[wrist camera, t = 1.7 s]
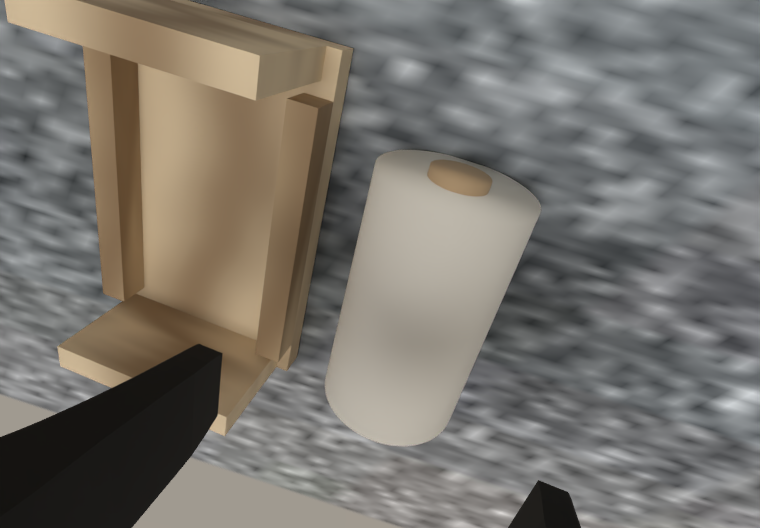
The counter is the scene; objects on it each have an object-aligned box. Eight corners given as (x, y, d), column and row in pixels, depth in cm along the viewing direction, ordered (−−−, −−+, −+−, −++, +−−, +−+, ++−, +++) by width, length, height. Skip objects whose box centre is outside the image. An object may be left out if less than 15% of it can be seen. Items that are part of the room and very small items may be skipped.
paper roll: (458, 379, 20) (435, 474, 16) (350, 337, 20) (301, 417, 16) (545, 174, 15) (545, 233, 11) (402, 129, 16) (353, 169, 12)
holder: (141, 296, 23) (49, 361, 18) (130, -17, 16) (-17, -28, 12) (296, 356, 22) (237, 441, 17) (353, 48, 15) (280, 61, 11)
